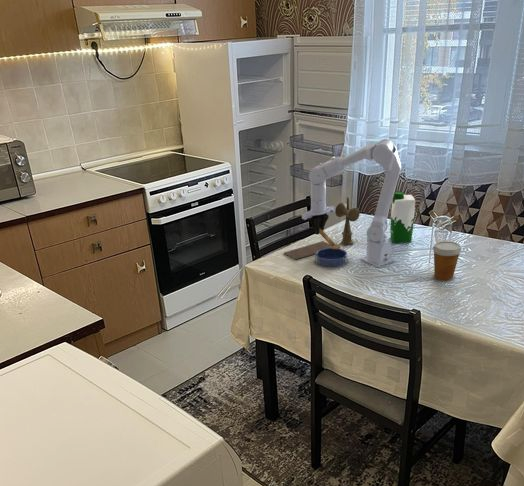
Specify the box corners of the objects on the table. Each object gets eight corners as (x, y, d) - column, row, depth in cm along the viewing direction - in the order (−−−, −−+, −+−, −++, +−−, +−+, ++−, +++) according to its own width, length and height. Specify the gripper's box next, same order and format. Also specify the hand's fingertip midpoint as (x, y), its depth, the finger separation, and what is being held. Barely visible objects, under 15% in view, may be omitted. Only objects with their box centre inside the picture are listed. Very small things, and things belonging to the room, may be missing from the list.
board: (322, 243, 230) (322, 241, 229) (336, 249, 223) (336, 246, 223) (283, 254, 221) (283, 252, 221) (296, 261, 215) (296, 258, 214)
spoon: (341, 247, 206) (342, 233, 203) (334, 250, 204) (334, 235, 201) (319, 238, 216) (319, 224, 213) (312, 240, 215) (311, 226, 212)
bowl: (353, 262, 210) (353, 254, 208) (328, 270, 205) (328, 262, 203) (333, 253, 219) (333, 245, 217) (309, 261, 214) (309, 253, 212)
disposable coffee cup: (443, 285, 188) (447, 252, 182) (424, 276, 196) (427, 244, 189) (463, 278, 192) (468, 246, 186) (444, 269, 199) (447, 238, 193)
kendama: (345, 239, 232) (346, 192, 222) (359, 245, 225) (361, 197, 214) (334, 242, 230) (334, 195, 219) (348, 249, 222) (349, 200, 212)
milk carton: (388, 237, 231) (390, 190, 221) (409, 235, 231) (413, 188, 221) (391, 244, 224) (395, 196, 213) (414, 243, 224) (418, 194, 213)
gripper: (327, 193, 212) (327, 226, 219) (296, 200, 206) (297, 234, 213) (338, 196, 206) (338, 231, 214) (307, 204, 200) (308, 239, 207)
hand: (318, 233), depth 213 cm, fingers closed on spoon
